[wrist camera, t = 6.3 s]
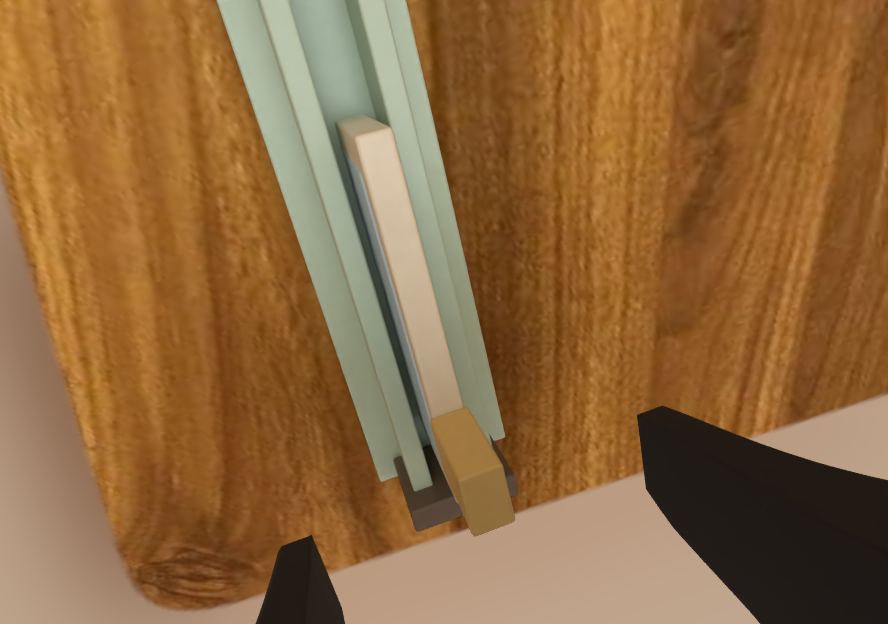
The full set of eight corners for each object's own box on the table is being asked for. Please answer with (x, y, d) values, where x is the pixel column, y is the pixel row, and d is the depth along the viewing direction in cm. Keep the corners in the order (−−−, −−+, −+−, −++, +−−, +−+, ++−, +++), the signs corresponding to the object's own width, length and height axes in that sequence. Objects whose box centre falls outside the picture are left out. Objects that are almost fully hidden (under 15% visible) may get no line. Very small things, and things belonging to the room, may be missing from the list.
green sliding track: (494, 419, 22) (538, 488, 19) (374, 462, 22) (396, 541, 18) (309, -371, 14) (325, -528, 10) (102, -340, 13) (40, -496, 9)
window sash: (449, 417, 20) (526, 562, 14) (419, 427, 20) (484, 579, 14) (367, 111, 16) (427, 138, 10) (329, 121, 16) (367, 154, 10)
